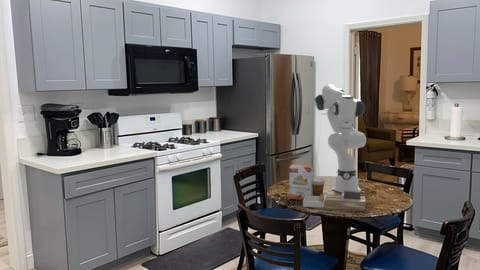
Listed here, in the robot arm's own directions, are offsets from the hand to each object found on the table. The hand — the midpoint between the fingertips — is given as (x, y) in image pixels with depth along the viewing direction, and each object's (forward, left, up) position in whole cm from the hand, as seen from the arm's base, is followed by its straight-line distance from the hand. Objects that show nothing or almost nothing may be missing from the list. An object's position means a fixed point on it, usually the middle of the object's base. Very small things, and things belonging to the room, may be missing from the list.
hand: (346, 147), depth 233 cm
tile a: (+2, -12, -31) cm, 34 cm away
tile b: (+8, -13, -31) cm, 34 cm away
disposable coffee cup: (-7, -17, -34) cm, 39 cm away
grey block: (+5, +3, -29) cm, 30 cm away
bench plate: (+5, 0, -34) cm, 34 cm away
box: (+5, -17, -34) cm, 39 cm away
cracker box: (-5, -26, -34) cm, 43 cm away
